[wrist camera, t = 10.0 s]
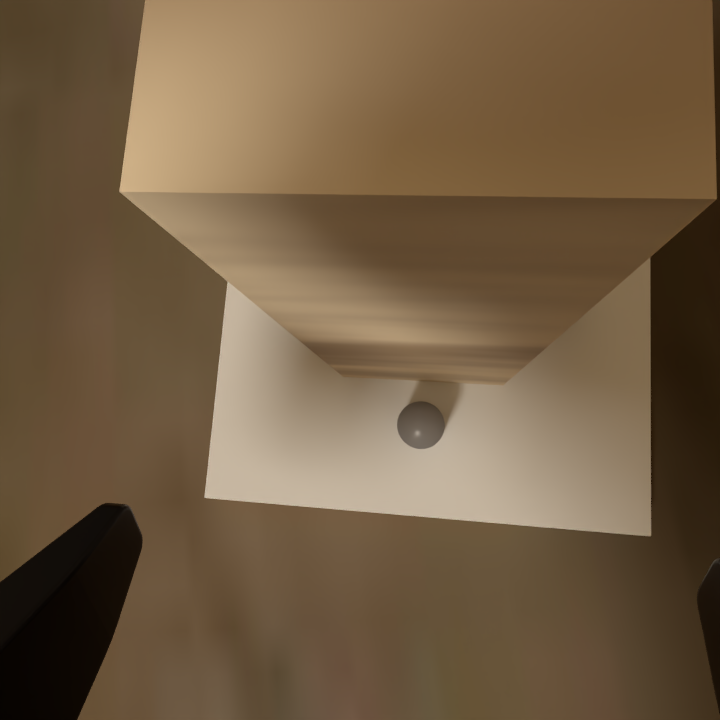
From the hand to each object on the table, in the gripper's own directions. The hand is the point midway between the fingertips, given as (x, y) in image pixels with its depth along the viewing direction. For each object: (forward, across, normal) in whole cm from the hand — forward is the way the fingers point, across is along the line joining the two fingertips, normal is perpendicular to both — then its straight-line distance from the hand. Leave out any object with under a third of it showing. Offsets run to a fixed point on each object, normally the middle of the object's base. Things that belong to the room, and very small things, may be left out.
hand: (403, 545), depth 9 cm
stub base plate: (+12, 0, +3) cm, 12 cm away
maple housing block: (+11, 0, +2) cm, 11 cm away
